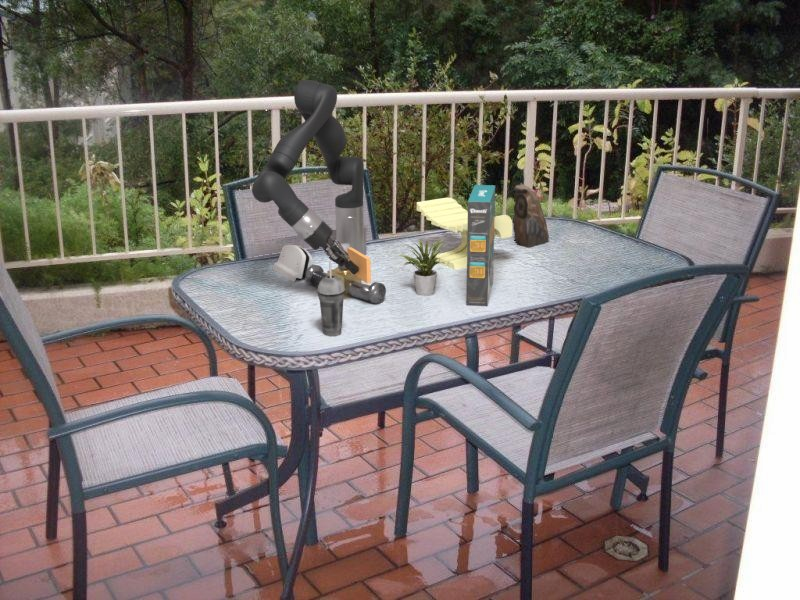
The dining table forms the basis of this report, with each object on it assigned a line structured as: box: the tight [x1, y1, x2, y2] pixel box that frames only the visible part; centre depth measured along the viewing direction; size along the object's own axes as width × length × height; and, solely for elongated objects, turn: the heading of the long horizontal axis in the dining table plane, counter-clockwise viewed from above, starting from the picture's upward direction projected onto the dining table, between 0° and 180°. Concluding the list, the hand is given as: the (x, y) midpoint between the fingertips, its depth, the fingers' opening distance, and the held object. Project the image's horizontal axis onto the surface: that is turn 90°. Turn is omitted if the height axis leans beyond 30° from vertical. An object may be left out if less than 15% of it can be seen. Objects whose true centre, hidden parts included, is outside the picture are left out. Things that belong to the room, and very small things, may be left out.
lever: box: [337, 243, 372, 284], centre depth 263 cm, size 19×4×7 cm, turn 27°
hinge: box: [272, 244, 313, 283], centre depth 290 cm, size 17×5×10 cm, turn 31°
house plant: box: [399, 238, 445, 297], centre depth 271 cm, size 14×14×16 cm
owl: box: [512, 182, 550, 249], centre depth 321 cm, size 13×13×20 cm
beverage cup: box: [316, 260, 345, 337], centre depth 239 cm, size 7×7×20 cm
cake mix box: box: [465, 184, 496, 307], centre depth 267 cm, size 22×6×30 cm, turn 171°
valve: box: [305, 264, 387, 305], centre depth 271 cm, size 7×28×8 cm, turn 48°
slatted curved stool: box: [416, 197, 513, 270], centre depth 301 cm, size 30×16×18 cm, turn 34°
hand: (356, 271), depth 258 cm, fingers closed
